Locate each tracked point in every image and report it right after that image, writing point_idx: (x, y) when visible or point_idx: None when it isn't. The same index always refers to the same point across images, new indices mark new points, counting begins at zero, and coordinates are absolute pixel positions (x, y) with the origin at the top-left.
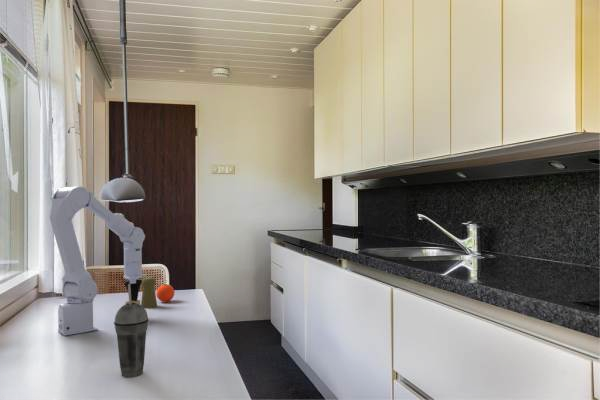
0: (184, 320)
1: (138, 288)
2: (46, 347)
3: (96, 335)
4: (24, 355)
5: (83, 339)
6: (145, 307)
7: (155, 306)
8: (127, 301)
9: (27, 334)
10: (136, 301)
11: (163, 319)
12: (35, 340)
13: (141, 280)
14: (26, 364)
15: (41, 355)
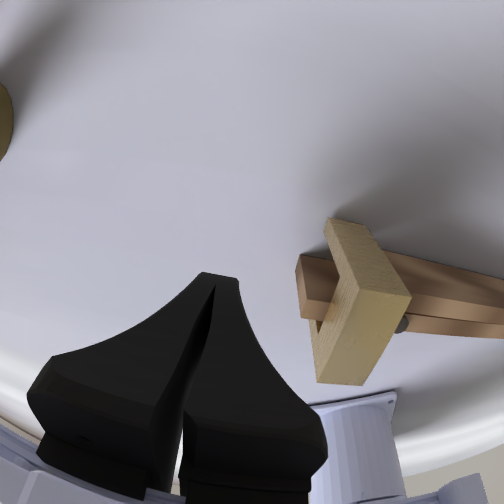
0: (487, 22)
1: (274, 377)
2: (442, 445)
3: (449, 386)
4: (455, 454)
5: (455, 405)
6: (6, 143)
7: (2, 88)
8: (348, 376)
9: None
10: (397, 322)
11: (408, 89)
12: None
13: (150, 432)
14: (499, 437)
15: (481, 436)
